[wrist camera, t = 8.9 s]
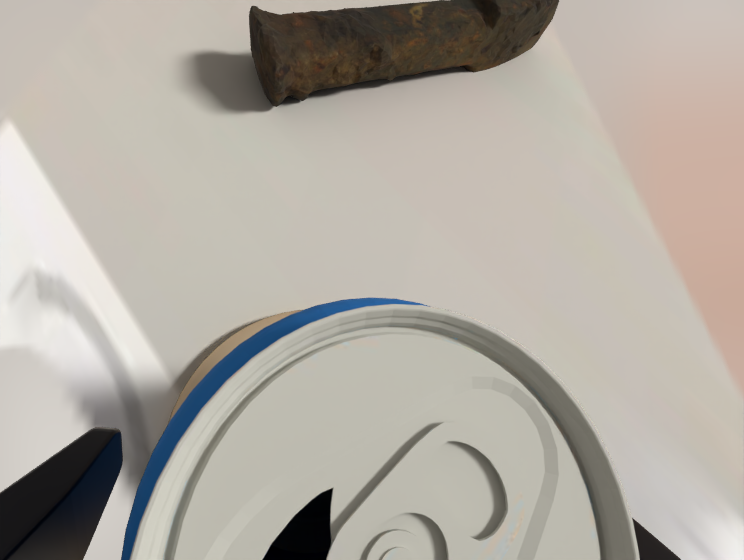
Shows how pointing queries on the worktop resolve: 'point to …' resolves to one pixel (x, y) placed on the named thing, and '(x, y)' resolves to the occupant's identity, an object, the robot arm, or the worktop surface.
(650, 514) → the worktop surface
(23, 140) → the worktop surface
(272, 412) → the beverage can
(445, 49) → the hand tool
